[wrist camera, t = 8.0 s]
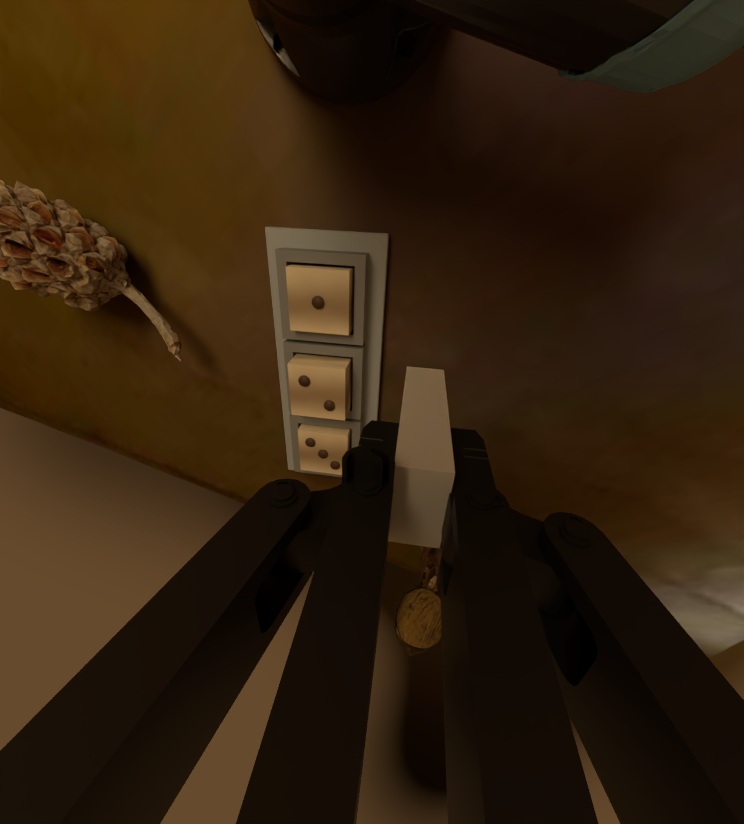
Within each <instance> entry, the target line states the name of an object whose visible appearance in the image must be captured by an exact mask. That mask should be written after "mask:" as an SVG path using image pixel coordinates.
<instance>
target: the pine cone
mask: <svg viewBox="0 0 744 824" xmlns="http://www.w3.org/2000/svg"><path fill="white" fill-rule="evenodd" d="M127 256H128V255H127V252H126V249H125V247H124V246H123V245H121V244H119V243H118V242H117V241H116V239H115V238H112V237H109V234H108V232H107V231H106V229H105V228H104V227H103V226H100V225H99V224H97V223H93V222H92V221H91V220H89V219H84V218H82V217H81V215H80V214H79V213H78V211H77V210H76V209H74V208H72V207H71V206H70V205H68V204H67V203H66V202H65V201H64V200H58V199H57V200H55V201H49V200H47V199H46V197H45V195H44V194H43V193H42V192H41V191H40V190H39V189H30V188H29V187H28V186H26V185H24V184H22V183H20V182H19V181H16V184H15V187H14V188H12V187H10V186H8V185H5V183H4V182H3V181H2V180H0V278H2V279H5V280H8V281H11V284H12V285H13V287H14V289H15V290H35V292H36V293H37V294H38V295H40V296H41V297H47V296H49V295H51V294H54V295H55V296H57V295H60V296H62V297H63V298H64V301H65V304H68V305H69V306H71V307H80V308H82V309H84V310H86V311H96V310H99V308H100V306H101V305H103V304H104V303H107V302H108V301H109V300H110V298H113V297H115V296H117V295H120V294H124V295H125V296H127V297H128V298H129V299H131V300H132V301H133V302H134V303H136V304H137V305H138V306H139V307H140V308H141V310H142V311H143V312H144V313H145V314H146V316H148V317H149V318H150V319H151V321H152V323H153V324H154V325H155V326H156V328H157V329H158V331H159V332H160V334H161V335H162V337H163V339H164V341H165V343H166V344H167V346H168V350H169V351H171V352H172V353H173V354H174V356H175V357H177V358H178V359H179V360H180V358H179V356H178V355H179V352H180V351H181V346H182V345H181V342H180V340H179V338H178V336H177V334H176V332H175V331H174V330H173V328H172V327H171V326H170V325H169V323H168V322H167V321H166V320H165V318H164V317H163V316H162V315H161V314H160V313H159V312H158V311H157V310H156V308H155V307H154V306H153V305H152V304H151V303H150V302H149V301H148V300H147V299H146V298H145V297H144V296H143V294H142V293H141V292H140V291H138V290H137V289H136V287H135V286H133V285H132V284H131V278H129V274H128V273H127V272H126V268H125V263H126V261H127V260H128V257H127ZM180 361H181V360H180Z"/></svg>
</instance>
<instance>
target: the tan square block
mask: <svg viewBox="0 0 744 824" xmlns="http://www.w3.org/2000/svg"><path fill="white" fill-rule="evenodd" d="M286 279H287V292H288V306H289V319H290V330H292V331H304V332H315V333H327V334H338V335H349V334H350V333H351V331H352V330H353V328H354V284H355V267H353V266H338V265H323V264H308V263H294V264H291V265H288V266H286Z"/></svg>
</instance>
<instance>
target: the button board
mask: <svg viewBox="0 0 744 824" xmlns="http://www.w3.org/2000/svg"><path fill="white" fill-rule="evenodd" d="M265 232H266V243H267V253H268V263H269V274H270V284H271V294H272V305H273V315H274V326H275V336H276V346H277V357H278V367H279V377H280V388H281V398H282V409H283V419H284V429H285V440H286V450H287V460H288V469H290V470H294V471H295V472H303V473H311V474H319V475H327V476H335V477H342V475H337V474H329V473H321V472H313V471H305V470H301V468H300V455H299V441H298V429H299V427H300V425H301V424H311V425H320V426H328V427H337V428H346V429H352V448H353V447H357V446H358V444H359V440H360V438H361V434H362V430H363V427H364V426H366V425H367V424H368V423H369V422H370V421H371V420H374V421H378V407H379V391H380V374H381V358H382V342H383V325H384V309H385V293H386V276H387V260H388V244H389V233H373V232H355V231H338V230H320V229H302V228H285V227H265ZM294 263H308V264H323V265H338V266H353V267H355V284H354V328H353V330H352V331H351V333H350V334H349V335H338V334H327V333H315V332H304V331H292V330H290V319H289V306H288V292H287V279H286V266H288V265H291V264H294ZM296 354H307V355H318V356H328V357H339V358H350V359H351V394H350V409H349V412H348V414H347V417H346V420H345V421H344V420H335V419H326V418H317V417H308V416H299V415H292V414H291V402H290V390H289V378H288V366H287V364H288V363H289V361H290V360H291V359H292V358H293V357H294V356H295V355H296Z"/></svg>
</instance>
